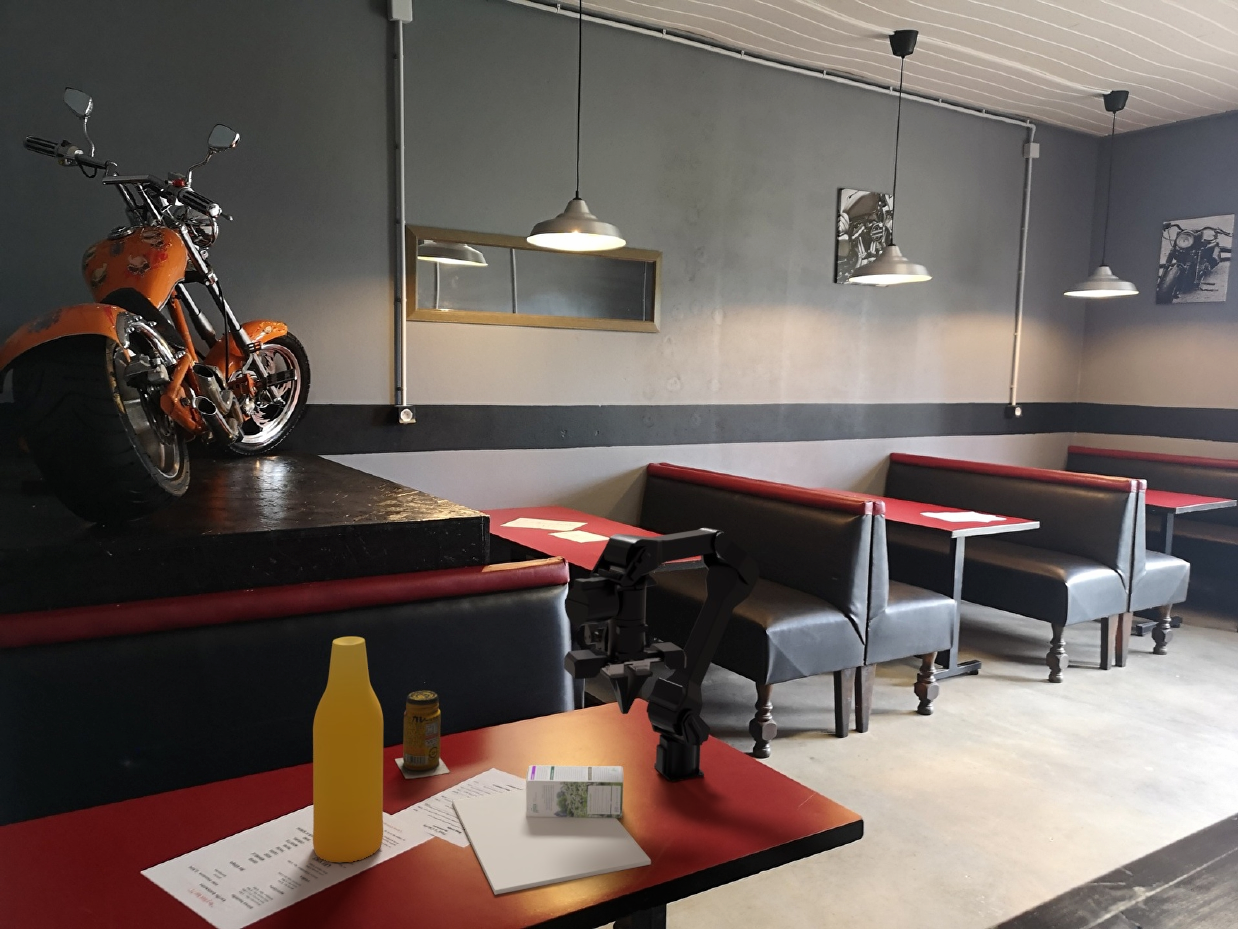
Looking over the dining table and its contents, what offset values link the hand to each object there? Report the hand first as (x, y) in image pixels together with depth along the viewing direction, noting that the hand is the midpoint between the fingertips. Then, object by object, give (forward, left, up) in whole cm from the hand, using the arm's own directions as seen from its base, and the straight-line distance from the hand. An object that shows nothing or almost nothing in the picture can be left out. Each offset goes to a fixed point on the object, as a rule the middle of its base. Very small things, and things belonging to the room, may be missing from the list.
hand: (624, 713), depth 140 cm
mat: (+15, +8, -13) cm, 22 cm away
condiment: (+28, -20, -13) cm, 37 cm away
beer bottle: (+42, +3, -13) cm, 44 cm away
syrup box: (+2, +7, -10) cm, 12 cm away
